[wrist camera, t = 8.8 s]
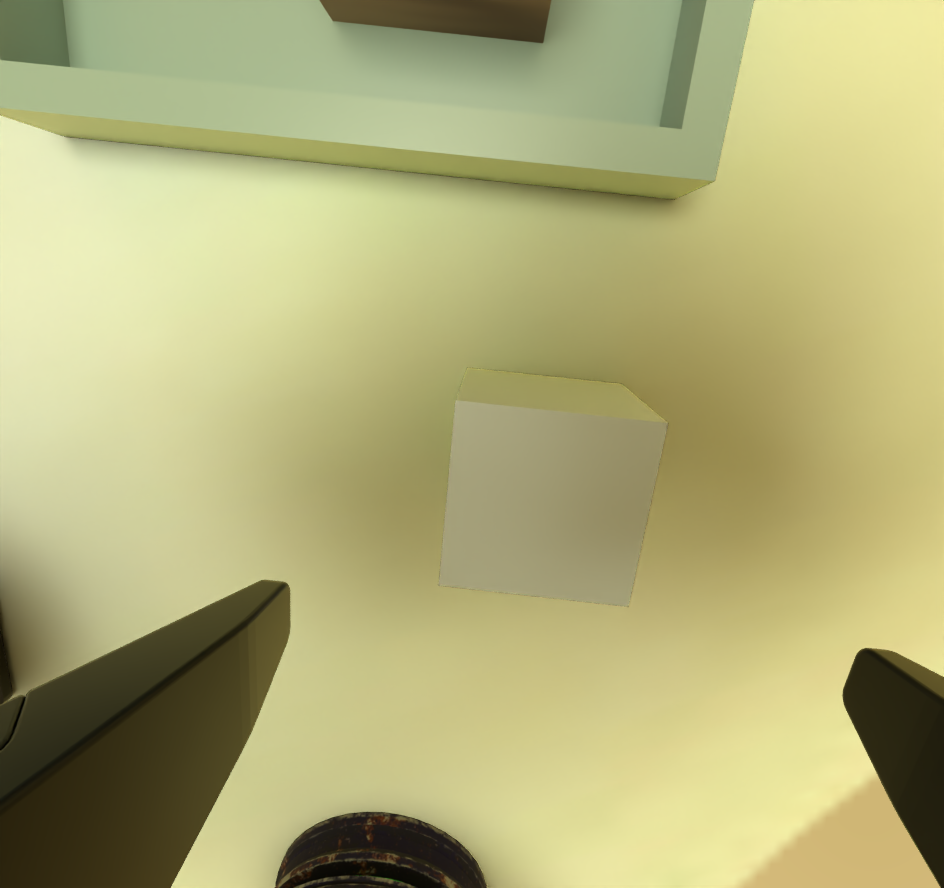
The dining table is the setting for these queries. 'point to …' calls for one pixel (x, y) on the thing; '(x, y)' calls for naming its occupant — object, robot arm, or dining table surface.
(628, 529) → the cube
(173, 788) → the robot arm
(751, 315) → the dining table surface
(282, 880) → the storage jar
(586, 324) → the dining table surface
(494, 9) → the walnut block
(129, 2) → the tray
